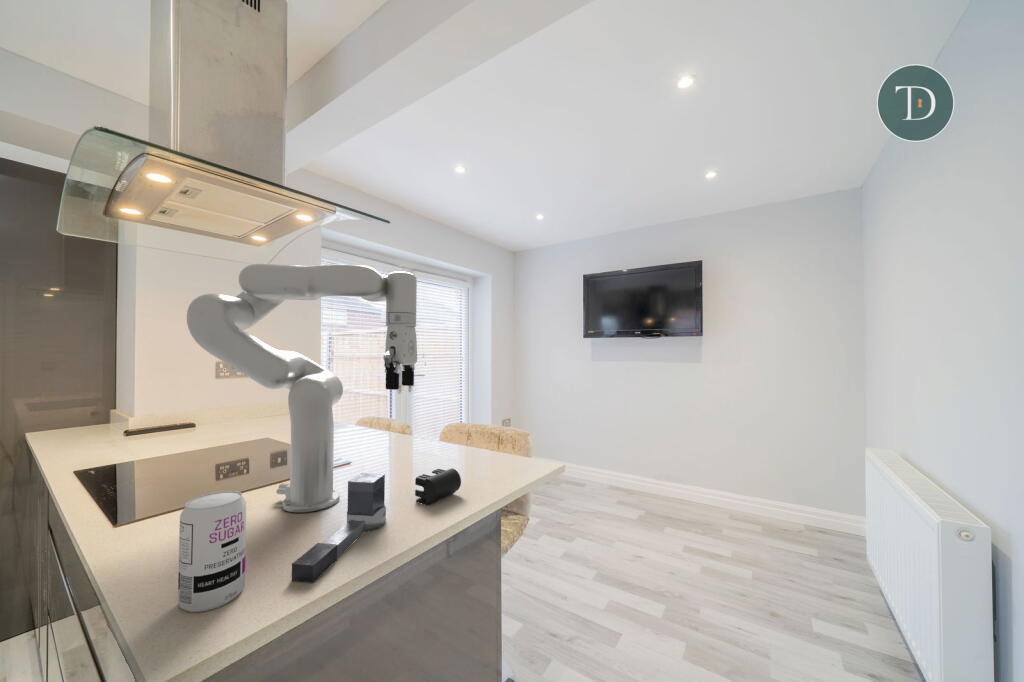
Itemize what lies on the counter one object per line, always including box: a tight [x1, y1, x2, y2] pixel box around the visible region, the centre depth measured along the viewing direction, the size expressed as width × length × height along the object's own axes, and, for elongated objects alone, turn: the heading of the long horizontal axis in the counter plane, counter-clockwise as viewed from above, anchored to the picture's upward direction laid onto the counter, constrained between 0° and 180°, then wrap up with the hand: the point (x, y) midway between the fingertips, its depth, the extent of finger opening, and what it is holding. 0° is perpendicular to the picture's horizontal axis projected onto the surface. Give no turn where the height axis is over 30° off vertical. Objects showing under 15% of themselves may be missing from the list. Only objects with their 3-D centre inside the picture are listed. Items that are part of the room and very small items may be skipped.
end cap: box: [414, 467, 462, 506], centre depth 101 cm, size 10×7×7 cm
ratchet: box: [291, 504, 387, 584], centre depth 77 cm, size 8×26×8 cm, turn 173°
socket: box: [347, 472, 386, 516], centre depth 86 cm, size 6×6×7 cm
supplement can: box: [177, 490, 247, 613], centre depth 61 cm, size 8×8×15 cm
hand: (400, 387), depth 101 cm, fingers open, 9 cm apart
